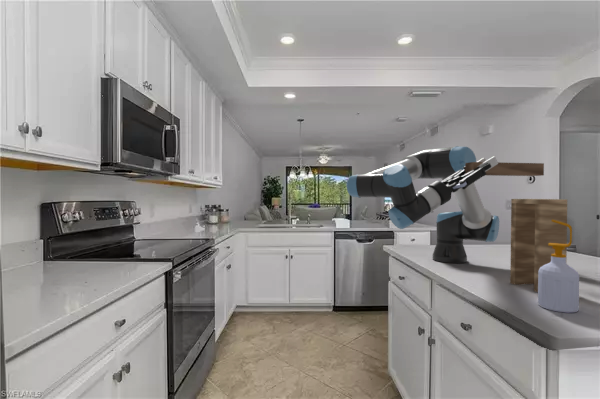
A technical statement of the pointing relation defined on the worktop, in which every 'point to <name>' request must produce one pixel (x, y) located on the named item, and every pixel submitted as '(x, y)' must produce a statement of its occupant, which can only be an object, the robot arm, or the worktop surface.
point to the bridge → (535, 236)
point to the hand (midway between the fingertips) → (490, 160)
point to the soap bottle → (558, 281)
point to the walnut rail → (510, 169)
